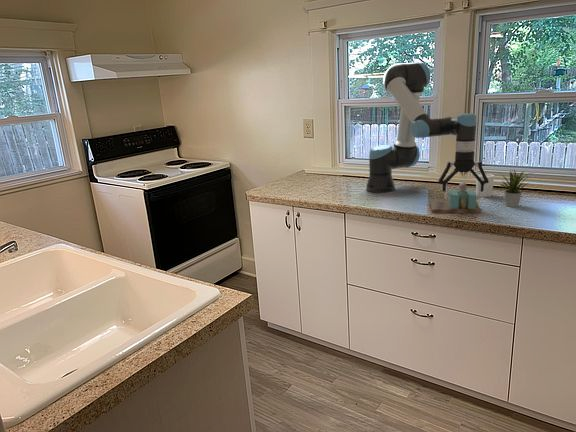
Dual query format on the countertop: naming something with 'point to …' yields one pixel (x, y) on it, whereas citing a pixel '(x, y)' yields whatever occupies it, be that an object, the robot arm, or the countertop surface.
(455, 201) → the teal notched block
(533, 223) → the countertop surface
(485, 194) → the white cup
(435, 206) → the baseplate
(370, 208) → the countertop surface
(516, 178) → the house plant
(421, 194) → the countertop surface
